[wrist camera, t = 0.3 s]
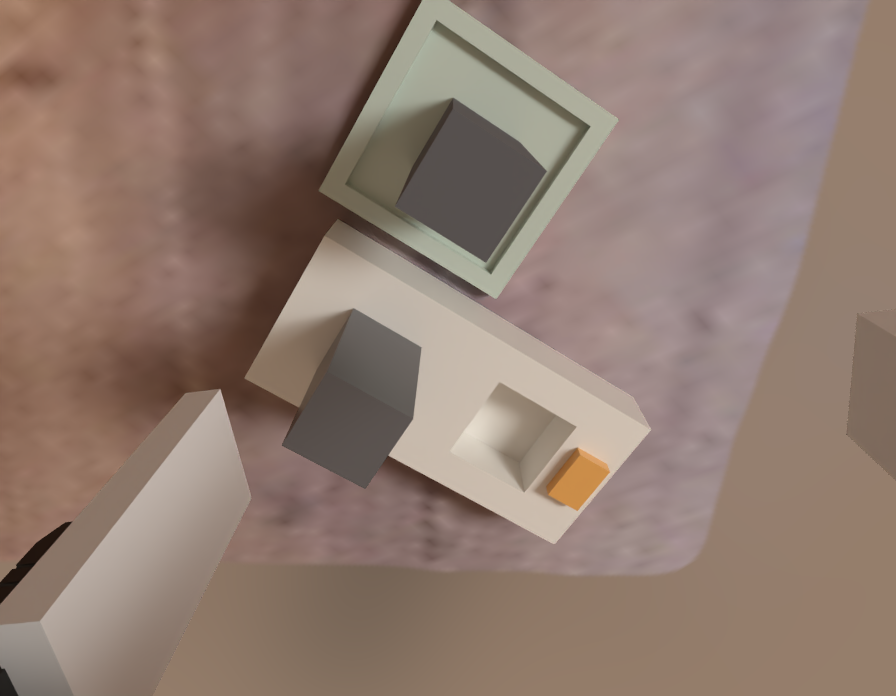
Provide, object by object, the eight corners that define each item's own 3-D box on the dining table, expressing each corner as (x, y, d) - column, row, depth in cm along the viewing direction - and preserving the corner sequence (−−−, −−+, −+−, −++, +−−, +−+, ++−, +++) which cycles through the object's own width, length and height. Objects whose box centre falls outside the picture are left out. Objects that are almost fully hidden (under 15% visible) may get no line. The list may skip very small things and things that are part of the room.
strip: (263, 349, 39) (190, 456, 29) (337, 218, 37) (288, 281, 26) (545, 504, 43) (576, 649, 32) (633, 396, 40) (699, 517, 30)
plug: (412, 167, 35) (394, 206, 25) (453, 97, 34) (452, 108, 24) (476, 208, 36) (486, 262, 26) (519, 141, 35) (546, 171, 24)
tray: (321, 187, 36) (318, 190, 35) (430, -11, 32) (429, -13, 31) (495, 293, 38) (496, 299, 37) (614, 118, 35) (619, 119, 34)
